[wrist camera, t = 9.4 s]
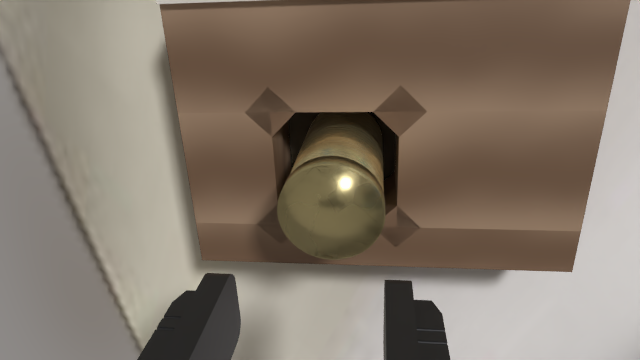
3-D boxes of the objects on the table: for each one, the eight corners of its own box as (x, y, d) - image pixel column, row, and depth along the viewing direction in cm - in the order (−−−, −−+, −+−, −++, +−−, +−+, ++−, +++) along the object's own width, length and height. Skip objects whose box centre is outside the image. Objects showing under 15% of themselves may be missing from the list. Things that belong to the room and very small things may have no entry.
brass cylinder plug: (304, 104, 25) (272, 163, 17) (384, 103, 24) (386, 164, 17) (308, 176, 26) (281, 258, 19) (383, 177, 26) (384, 261, 19)
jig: (192, -17, 23) (153, -12, 19) (591, -33, 21) (641, -31, 17) (225, 221, 28) (200, 263, 24) (545, 228, 26) (574, 275, 22)
